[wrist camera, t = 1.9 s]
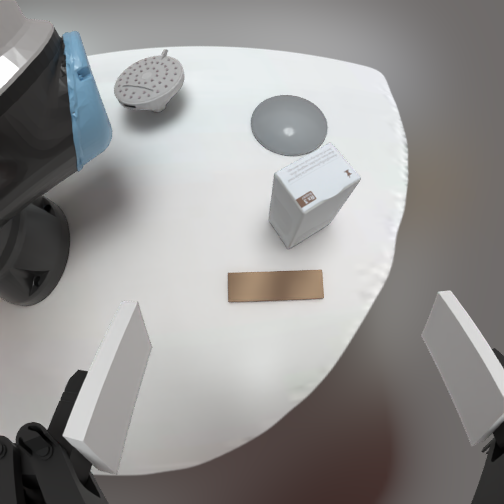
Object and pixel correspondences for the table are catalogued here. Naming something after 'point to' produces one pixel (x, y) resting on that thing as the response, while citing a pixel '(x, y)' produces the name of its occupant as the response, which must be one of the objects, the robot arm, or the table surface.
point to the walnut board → (275, 286)
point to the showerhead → (149, 83)
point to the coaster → (289, 125)
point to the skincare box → (310, 193)
